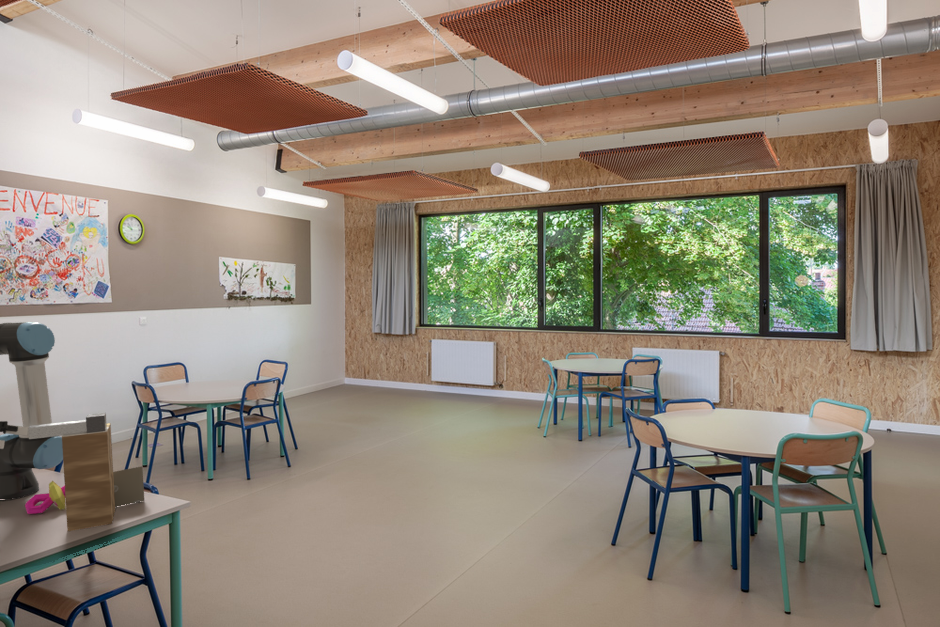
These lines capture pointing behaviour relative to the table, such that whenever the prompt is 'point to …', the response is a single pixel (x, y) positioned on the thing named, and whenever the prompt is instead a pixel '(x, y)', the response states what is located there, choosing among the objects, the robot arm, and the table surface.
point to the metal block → (70, 427)
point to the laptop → (128, 486)
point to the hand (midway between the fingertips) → (15, 438)
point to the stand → (88, 479)
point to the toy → (47, 499)
